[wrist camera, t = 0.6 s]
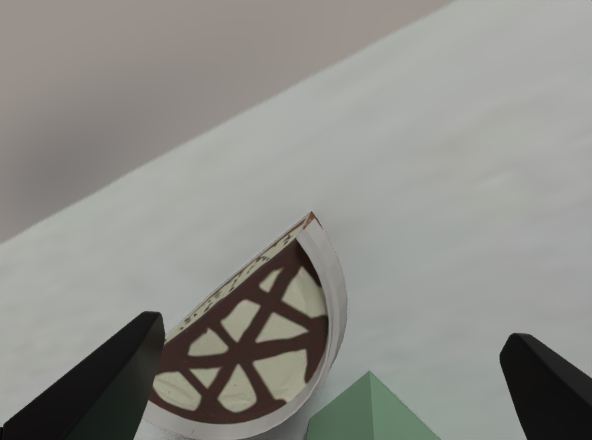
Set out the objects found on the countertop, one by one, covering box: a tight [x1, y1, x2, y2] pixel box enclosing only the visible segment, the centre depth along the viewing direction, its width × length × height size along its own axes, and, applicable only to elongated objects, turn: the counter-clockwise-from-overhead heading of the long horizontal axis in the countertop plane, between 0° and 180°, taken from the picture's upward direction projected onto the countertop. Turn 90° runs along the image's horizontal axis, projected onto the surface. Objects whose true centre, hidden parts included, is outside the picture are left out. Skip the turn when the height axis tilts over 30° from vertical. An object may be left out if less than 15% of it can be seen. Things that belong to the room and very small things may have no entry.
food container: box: [142, 211, 347, 440], centre depth 19 cm, size 12×6×10 cm, turn 130°
